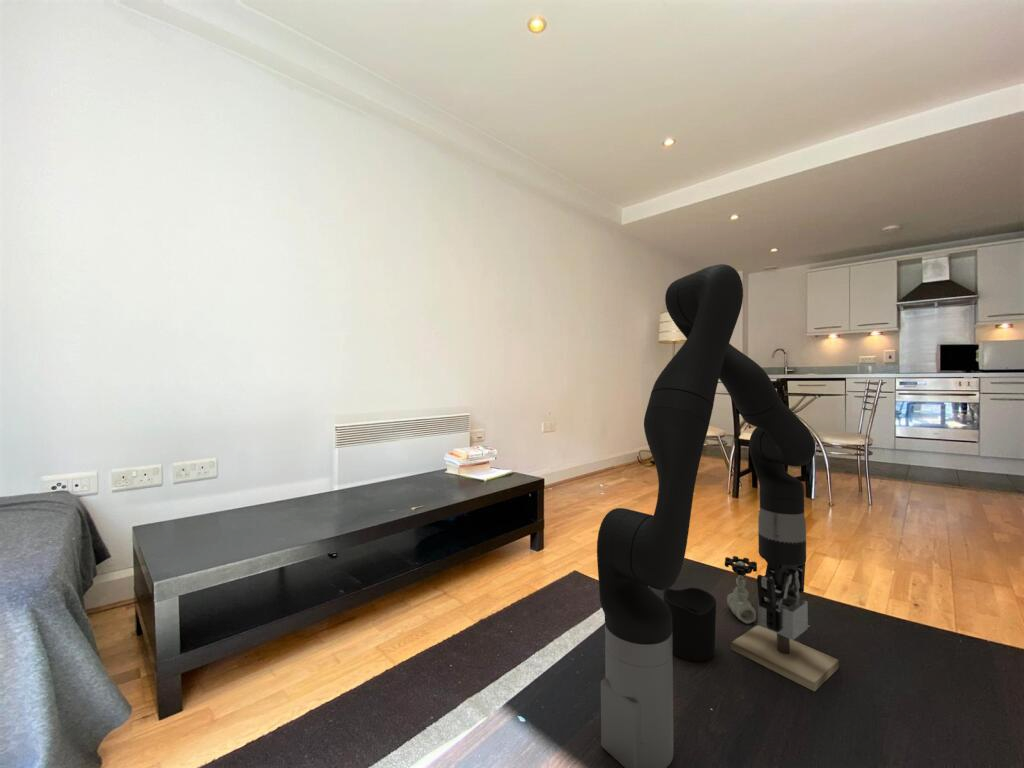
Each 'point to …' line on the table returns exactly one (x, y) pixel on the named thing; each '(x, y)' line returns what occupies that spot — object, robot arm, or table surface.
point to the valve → (741, 589)
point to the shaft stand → (786, 657)
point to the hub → (788, 617)
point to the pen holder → (692, 623)
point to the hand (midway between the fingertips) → (782, 623)
